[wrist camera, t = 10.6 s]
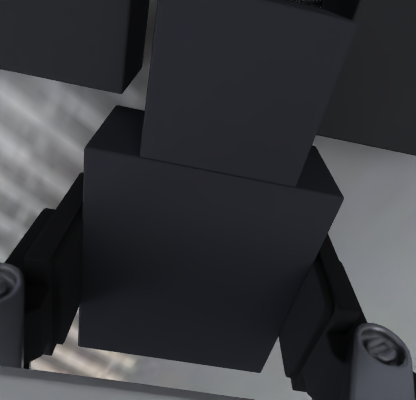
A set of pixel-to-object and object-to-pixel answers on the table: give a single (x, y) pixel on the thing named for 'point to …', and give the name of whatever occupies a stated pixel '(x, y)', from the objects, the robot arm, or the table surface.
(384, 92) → the black flat block
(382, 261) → the table surface
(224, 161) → the tab pad
